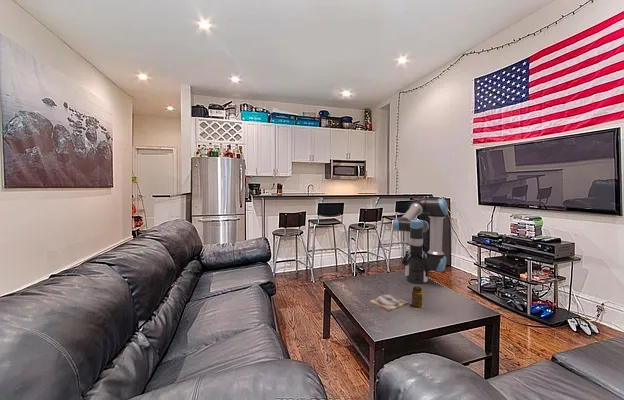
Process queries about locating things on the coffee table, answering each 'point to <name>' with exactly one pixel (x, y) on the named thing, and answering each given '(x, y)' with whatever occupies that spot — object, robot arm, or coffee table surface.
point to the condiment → (416, 298)
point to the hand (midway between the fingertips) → (416, 278)
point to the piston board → (388, 302)
